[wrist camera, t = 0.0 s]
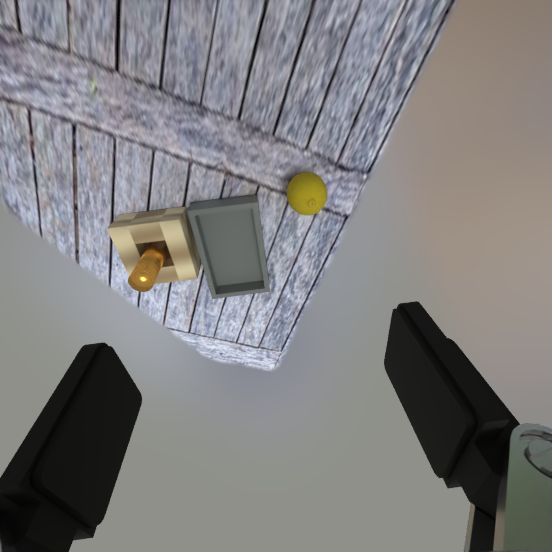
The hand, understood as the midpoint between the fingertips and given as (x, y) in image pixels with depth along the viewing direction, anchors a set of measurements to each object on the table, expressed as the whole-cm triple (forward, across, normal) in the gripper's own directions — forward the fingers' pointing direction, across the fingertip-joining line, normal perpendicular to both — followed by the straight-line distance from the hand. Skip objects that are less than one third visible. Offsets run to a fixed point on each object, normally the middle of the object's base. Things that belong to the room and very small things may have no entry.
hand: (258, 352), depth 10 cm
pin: (+37, +16, +12) cm, 42 cm away
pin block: (+37, +16, +12) cm, 42 cm away
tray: (+37, +5, +15) cm, 40 cm away
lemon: (+37, -7, +6) cm, 38 cm away
